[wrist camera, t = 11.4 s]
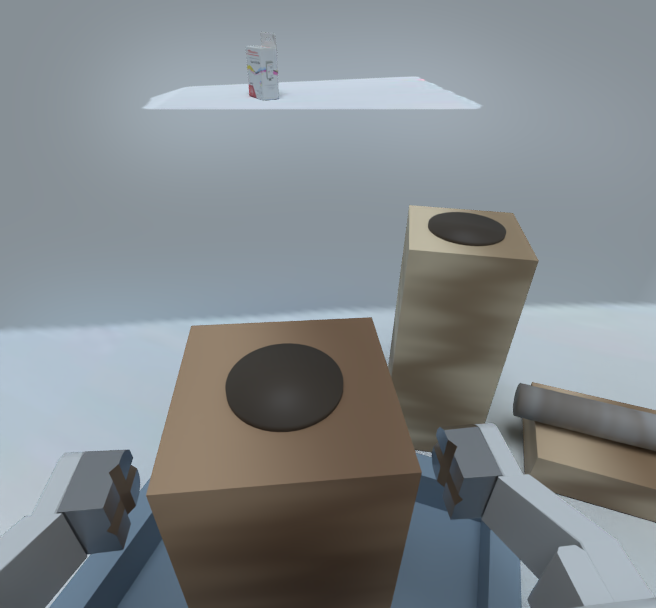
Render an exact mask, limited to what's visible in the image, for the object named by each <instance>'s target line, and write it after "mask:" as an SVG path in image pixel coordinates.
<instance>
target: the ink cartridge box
mask: <svg viewBox="0 0 656 608" xmlns="http://www.w3.org/2000/svg"><path fill="white" fill-rule="evenodd" d="M260 35H261V42H262V46H246V55H247V68H248V82H249V95H250V96H252V97H255V98H257V99H260V100H274V99H279V90H278V67H277V48H276V40H275V34H274V33H266V32H265V33H264V32H261V33H260ZM267 37H268V38H270V40H271V41H266V38H267Z"/></svg>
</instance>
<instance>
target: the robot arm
mask: <svg viewBox="0 0 656 608" xmlns="http://www.w3.org/2000/svg"><path fill="white" fill-rule="evenodd" d="M436 437H437V440H438V443H437V444H435V445H434V446H433V450H432V466H433V470H434V474H435V477H436V480H437V482H438V483H440V484H441V485H442V486H443V487H444V491H443V495H442V497H443V500H444V503H445V506H446V509H447V511H448V514H449V517H450V520H457V519H473V518H482V519H481V520H482V521H483V522H484V523H485V524H486V525H487V526H488V527H489V528H490V529H491V530H492V531H493V532H494V533H495V534H496V535H497V536H498V537H499V538H500V539H501V540H502V541H503V542H504V544H505V545H506V546H507V547H508V548H509V549H510V550H511V551H512V552H513V553H514V554H515V555H516V556H517V557H518V558H519V559H520V560H521V561H522V562H523V563H524V564H525V565H526V566H527V567H528V568H529V569H530V570H531V571H532V572H533V574H534V575H535V576H536V577H537V578H538V579H539V580H538V582H537V583H536V585H535V587H534V588H533V590H532V592H531V593H530V595H529V597H528V602H529V605H530V607H531V608H656V598H655V596H654V595H653V593H652V592H651V590H650V588H649V587H648V585H647V584H646V582H645V581H644V579H643V578H642V576H641V575H640V573H639V572H638V570H637V569H636V567H635V566H634V564H633V563H632V561H631V559H630V558H629V556H628V555H627V553H626V552H625V550H624V549H623V547H622V546H621V544H620V543H619V541H618V540H617V539H616V538H615V537H613V536H612V535H611V534H609V533H608V532H607V531H605V530H604V529H602V528H601V527H600V526H598V525H597V524H596V523H594V522H593V521H592V520H590V519H589V518H588V517H586V516H585V515H584V514H582V513H581V512H579V511H578V510H577V509H575V508H574V507H573V506H571V505H570V504H569V503H567V502H566V501H565V500H563V499H562V498H561V497H559V496H558V495H556V494H555V493H554V492H552V491H551V490H550V489H548V488H547V487H546V486H544V485H543V484H542V483H540V482H539V481H538V480H536V479H535V478H533V477H532V476H531V475H529V474H523V472H522V471H521V469H520V467H519V465H518V463H517V462H516V460H515V458H514V456H513V454H512V452H511V451H510V449H509V447H508V445H507V443H506V442H505V440H504V438H503V436H502V434H501V433H500V431H499V429H498V427H497V426H496V425H495V424H494V423H484V424H466V425H455V426H443V427H439V428H438V429H437V433H436ZM132 459H133V457H132V454H131V452H130V450H110V451H88V452H71V453H64V454H63V455H62V456H61V458H60V459H59V460H58V462H57V464H56V466H55V468H54V470H53V472H52V474H51V476H50V478H49V480H48V482H47V484H46V486H45V488H44V490H43V492H42V494H41V496H40V498H39V500H38V502H37V504H36V506H35V508H34V510H33V512H32V515H31V516H24V517H23V518H22V519H21V520H19V521H18V522H17V523H16V524H15V525H14V526H12V527H11V528H10V529H9V530H8V531H7V532H5V533H4V534H3V535H2V536H1V537H0V608H45V607H46V606H47V605H48V603H49V602H50V601H51V600H52V599H53V597H54V596H55V595H56V594H57V593H58V591H59V590H60V589H61V588H62V587H63V585H64V584H65V583H66V582H67V580H68V579H69V578H70V577H71V576H72V574H73V573H74V572H75V571H76V570H77V568H78V567H79V566H80V565H81V564H82V562H83V561H84V560H85V559H86V558H87V554H95V553H104V552H112V551H120V550H124V546H125V543H126V539H127V536H128V533H129V529H130V526H131V522H130V519H129V517H128V514H129V513H130V512H131V511H132V510H133V509H134V508H135V507H136V505H137V501H138V497H139V490H140V477H139V473H138V470H137V468H135V467H134V466H132V465H131V462H132Z"/></svg>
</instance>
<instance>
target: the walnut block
mask: <svg viewBox="0 0 656 608" xmlns="http://www.w3.org/2000/svg"><path fill="white" fill-rule="evenodd" d="M421 474H422V471H421V468H420V465H419V462H418V459H417V456H416V453H415V449H414V446H413V443H412V440H411V437H410V434H409V431H408V428H407V425H406V422H405V419H404V416H403V413H402V409H401V406H400V403H399V400H398V397H397V394H396V391H395V388H394V385H393V382H392V379H391V376H390V373H389V369H388V366H387V363H386V360H385V357H384V354H383V351H382V348H381V345H380V342H379V339H378V336H377V333H376V329H375V326H374V323H373V320H372V317H371V318H349V319H328V320H307V321H285V322H264V323H242V324H221V325H199V326H191V329H190V333H189V336H188V340H187V344H186V348H185V351H184V355H183V359H182V363H181V366H180V370H179V374H178V378H177V381H176V385H175V389H174V392H173V396H172V400H171V404H170V407H169V411H168V415H167V419H166V422H165V426H164V430H163V434H162V437H161V441H160V445H159V449H158V452H157V456H156V460H155V464H154V467H153V471H152V475H151V478H150V482H149V486H148V490H147V493H146V497H147V500H148V502H149V505H150V508H151V510H152V513H153V515H154V518H155V521H156V523H157V526H158V529H159V531H160V534H161V537H162V539H163V542H164V545H165V547H166V550H167V553H168V555H169V558H170V560H171V563H172V566H173V568H174V571H175V574H176V576H177V579H178V582H179V584H180V587H181V590H182V592H183V595H184V598H185V600H186V603H187V605H188V608H391V604H392V600H393V595H394V591H395V587H396V582H397V578H398V574H399V569H400V565H401V561H402V556H403V552H404V548H405V544H406V539H407V535H408V531H409V526H410V522H411V518H412V513H413V509H414V505H415V500H416V496H417V492H418V487H419V483H420V479H421Z"/></svg>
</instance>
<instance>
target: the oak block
mask: <svg viewBox="0 0 656 608" xmlns="http://www.w3.org/2000/svg"><path fill="white" fill-rule="evenodd" d="M537 264H538V259H537V257H536V255H535V253H534V251H533V250H532V248H531V246H530V244H529V242H528V240H527V238H526V236H525V235H524V233H523V231H522V229H521V227H520V225H519V223H518V221H517V220H516V218H515V216H514V214H513V213H505V212H492V211H478V210H465V209H451V208H438V207H425V206H411V205H409V211H408V219H407V227H406V234H405V242H404V250H403V257H402V265H401V273H400V281H399V288H398V296H397V304H396V311H395V319H394V327H393V334H392V342H391V350H390V357H389V365H388V369H389V373H390V376H391V379H392V382H393V385H394V388H395V391H396V394H397V397H398V400H399V403H400V406H401V409H402V413H403V416H404V419H405V422H406V425H407V428H408V431H409V434H410V437H411V440H412V443H413V446H414V449H415V450H422V451H429V452H432V450H433V446H434V445H435V444H437V443H438V440H437V437H436V433H437V429H438V428H439V427H443V426H455V425H466V424H484V423H485V421H486V418H487V415H488V412H489V409H490V406H491V403H492V400H493V397H494V394H495V391H496V388H497V385H498V382H499V379H500V376H501V373H502V370H503V367H504V364H505V361H506V358H507V355H508V351H509V348H510V345H511V342H512V339H513V336H514V333H515V330H516V327H517V324H518V321H519V318H520V315H521V312H522V309H523V306H524V303H525V300H526V297H527V294H528V291H529V288H530V285H531V282H532V279H533V276H534V273H535V270H536V267H537Z"/></svg>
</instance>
